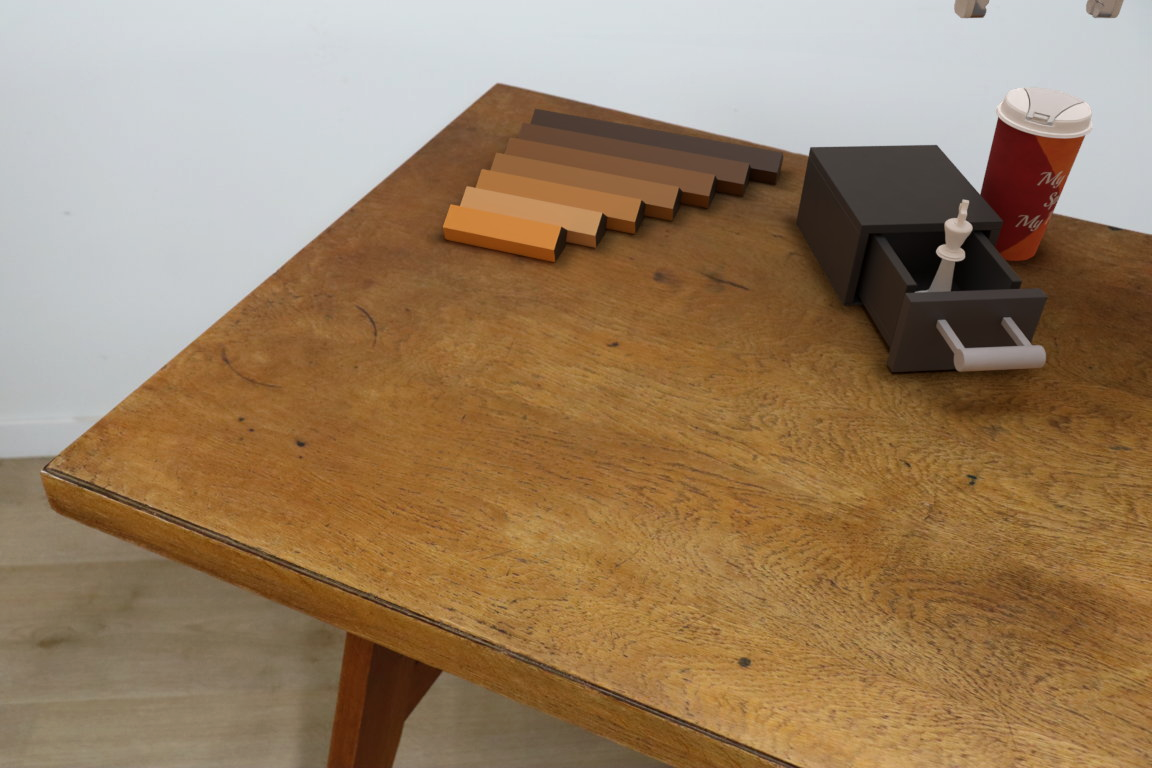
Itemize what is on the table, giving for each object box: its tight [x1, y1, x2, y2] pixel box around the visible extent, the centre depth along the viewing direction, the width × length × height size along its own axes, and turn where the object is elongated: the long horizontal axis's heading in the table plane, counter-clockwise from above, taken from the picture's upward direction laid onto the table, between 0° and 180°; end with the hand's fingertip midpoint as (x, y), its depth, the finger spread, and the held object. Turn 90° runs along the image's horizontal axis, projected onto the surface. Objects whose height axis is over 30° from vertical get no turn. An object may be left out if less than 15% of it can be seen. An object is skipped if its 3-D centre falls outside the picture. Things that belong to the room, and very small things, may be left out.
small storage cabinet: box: [795, 144, 1003, 307], centre depth 94 cm, size 14×12×8 cm
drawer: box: [856, 230, 1048, 373], centre depth 84 cm, size 18×10×6 cm, turn 7°
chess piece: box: [915, 200, 973, 293], centre depth 84 cm, size 5×5×10 cm
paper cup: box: [979, 86, 1094, 262], centre depth 95 cm, size 8×8×14 cm
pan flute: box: [442, 108, 784, 263], centre depth 101 cm, size 25×3×25 cm
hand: (1034, 15), depth 74 cm, fingers open, 8 cm apart
